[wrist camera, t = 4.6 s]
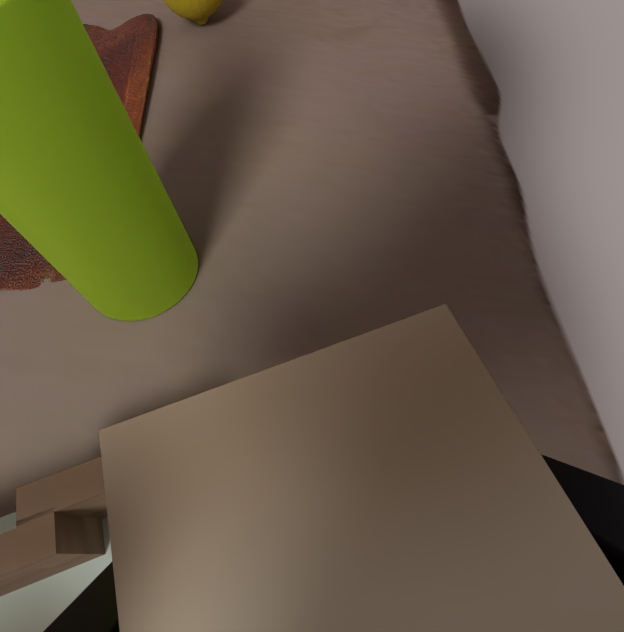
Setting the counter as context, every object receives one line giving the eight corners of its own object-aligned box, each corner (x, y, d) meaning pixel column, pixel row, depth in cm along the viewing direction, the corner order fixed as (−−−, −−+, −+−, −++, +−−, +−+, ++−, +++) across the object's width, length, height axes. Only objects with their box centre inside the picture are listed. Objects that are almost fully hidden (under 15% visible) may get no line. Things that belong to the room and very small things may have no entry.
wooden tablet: (51, 41, 36) (38, 20, 35) (166, 25, 36) (158, 3, 35) (-56, 305, 23) (-84, 288, 22) (124, 284, 23) (108, 265, 21)
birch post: (447, 612, 13) (736, 763, 3) (306, 676, 12) (165, 1075, 3) (383, 466, 15) (445, 303, 5) (262, 515, 14) (98, 430, 5)
